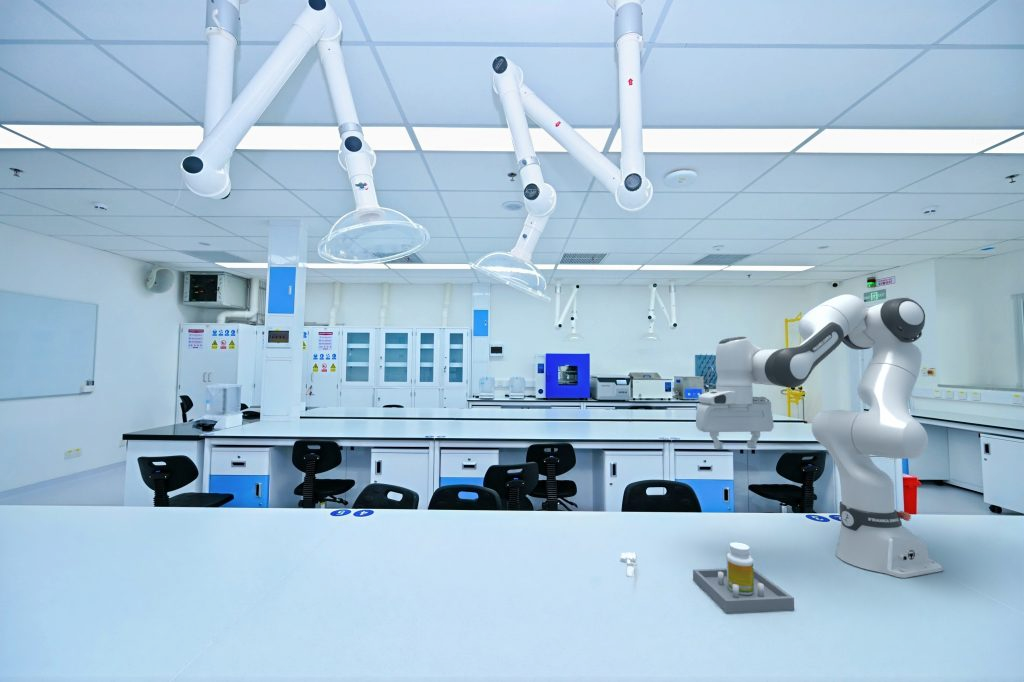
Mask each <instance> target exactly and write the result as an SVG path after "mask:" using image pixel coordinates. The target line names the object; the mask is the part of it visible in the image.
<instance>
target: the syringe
mask: <svg viewBox="0 0 1024 682" xmlns="http://www.w3.org/2000/svg"><path fill="white" fill-rule="evenodd" d="M619 558H620V559H619V562H621V561H623V562H622V563H626V562H627V563H626V566H627V567H626V577H628V576H629V578H635V577H636V575H634V571H635V570H636V569H635V567H634V566H637V563H636V562H637V561H636V560H637V558H636V553H635V552H630V551H628V552H627V551H626V552H621V553H620V557H619ZM635 581H638V580H637V578H636V579H635Z"/></svg>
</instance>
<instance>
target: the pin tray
mask: <svg viewBox="0 0 1024 682" xmlns="http://www.w3.org/2000/svg"><path fill="white" fill-rule="evenodd" d="M753 573H754V593H753V594H751V595H740V594H739V586H738V585H737V584H733V592H732V591H731V590H730V589H729V588H728V587H727V567H725V568H704V569H703V568H699V569H698V568H697V569H692V580H693V582H694V583H695V584H696V585H697V586H698V587H699V588H700V589H701V590H702V591H703V592H704V593H705V594H706V595H707V596H708V597H709V598H711V600H713V602H714V603H715V604H717V605H718V606H719V608H720V609H721V610H722V611H724V612H725V613H726V614H743V613H746V614H747V613H762V612H763V613H764V612H765V613H766V612H779V611H780V612H781V611H782V612H784V611H795V597H793V596H792V595H791V594H790V593H788V592H786V591H785V590H784V589H783V588H781V587H780V586H779V585H778V584H776V583H774V582H773V581H771V580H770V579H769V578H767V577H766V576H765V575H763V574H762V573H761V572H759V571H758V570H757V569H755V568H754V567H753Z"/></svg>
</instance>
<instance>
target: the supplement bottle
mask: <svg viewBox="0 0 1024 682" xmlns="http://www.w3.org/2000/svg"><path fill="white" fill-rule="evenodd" d="M729 551H730V552H727V554H726V568H727V587H728V588H729V589H730V590H731V591H732V592H733V584H737V585H738V586H739V594H740V595H751V594H753V593H754V573H753V568H754V559H753V558H752V556H751V555H750V546H749V545H748V544H745V543H742V542H729Z"/></svg>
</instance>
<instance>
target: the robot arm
mask: <svg viewBox="0 0 1024 682" xmlns="http://www.w3.org/2000/svg"><path fill="white" fill-rule="evenodd" d="M925 323H926V313H925V310H924V309H923V307H922V306H921V304H919V302H917V301H915V300H913V299H912V298H907V297H898V298H892V299H889V300H887V301H885V302H883V303H879V304H876V305H872V306H871V307H867V305H866V303H865V302H864V301H863V299H861V298H860V297H859V296H857V295H853V294H849V293H847V294H840V295H837V296H835V297H833V298H830V299H827V300H826V301H824V302H821V303H820V304H818V305H817V306H815V307H814V308H812V309H810V310H809V311H807V312H806V313H805V314H804V315H803V316H802V317H801V318H800V319H799V321H798V333H799V334H800V336H801V338H802V340H803V341H802V343H800V344H799V345H796V346H794V347H784V348H775V349H774V348H771V349H770V348H769V349H765V348H763V347H762V348H761V347H759V346H757V345H756V344H754V343H753V342H751V341H750V339H749V337H746V336H736V337H735V336H734V337H728V338H724V339H721V340H720V341H719V342H718V344H717V346H716V351H715V371H716V374H717V375H716V377H717V379H716V382H715V389H713V390H710V391H707V392H704V393H702V394H699V395H698V398H697V399H698V402H699V403H700V404H698V406H697V408H696V415H695V426H696V429H697V430H698V431H699V432H703V433H709V436H710V438H711V439H712V441H713V448H714V449H716V450H723V449H724V447H723V446H724V443H723V441H720V440H719V438H718V437H719V436H720V435H719V434H720V433H739V432H741V433H742V432H743V433H744V432H746V433H747V432H748V433H749V432H750V435H751V438H750V440H747V441H746V443H747V444H746V447H747V449H753V450H754V449H757V442H758V440H760V437H761V432H763V433H765V432H772V430H773V429H774V428H775V427H774V425H775V424H774V419H773V418H774V417H773V413H772V412H773V411H772V402H771V400H769V399H768V398H767V397H766V396H754V395H753V394H754V393H753V391H754V390H753V384H755V385H765V386H778V387H783V388H789V389H793V388H794V389H795V388H798V387H801V385H803V384H804V383H805V382H806V381H807V380H808V378H810V375H811V373H812V371H814V369H815V368H816V367H817V366H818V365H819V364H820V363H821V362H822V361H823V360H824V359H826V358H827V357H828V356H829V355H830V354H831V353H833V351H836V348H838V347H839V346H840V345H841V344H842V343H843V344H844V345H845V346H846V347H848V348H850V349H851V350H852V349H853V350H855V351H858V350H868V349H871V348H872V355H871V358H870V361H869V362H868V363H867V366H866V367H865V370H864V372H863V374H862V376H861V379H860V381H859V383H858V385H857V389H856V390H857V396H858V397H859V399H860V400H861V401H862V402H863V403H864V404H866V405H867V406H869V407H870V408H869V410H867V411H856V410H845V409H832V410H824V411H823V410H822V411H820V412H819V413H817V414H816V415H815V416H814V418H813V419H812V422H811V432H812V435H813V437H814V438H815V440H816V441H817V443H819V444H821V445H822V447H824V448H825V449H826V451H827V452H828V453H829V455H830V456H831V458H832V460H833V462H834V464H835V466H836V469H837V472H838V476H839V484H840V497H841V501H840V502H839V508H838V509H839V516H840V517H839V518H840V527H839V528H840V529H839V534H838V535H839V536H838V537H839V538H838V542H837V547H836V550H835V555H836V557H837V558H839V559H840V560H842V561H843V562H845V563H847V564H849V565H852V566H855V567H858V568H861V569H863V570H868V571H873V572H876V573H877V572H878V573H882V574H886V575H890V576H893V577H895V578H896V577H897V578H902V579H906V578H911V577H916V576H922V575H923V576H924V575H927V574H934V573H938V572H943V571H944V569H943V566H942V565H941V564H940V563H938V562H937V561H935V560H933V559H932V558H930V555H929V549H928V546H927V544H926V542H924V540H922V538H920V537H919V536H917V535H916V534H914V533H913V532H912V531H911V530H909V529H908V528H907V527H905V525H903V523H902V520H904V521H905V522H909V521H910V520H911V519H912V515H911V514H910V513H909V512H905V511H903V510H900V511H897V510H896V508H895V485H894V482H893V479H892V478H891V476H890V475H889V474H887V473H886V472H885V471H883V470H882V469H880V468H879V467H878V466H876V464H875V463H874V462H873V460H872V458H871V456H876V457H880V458H881V457H883V458H886V459H887V458H888V459H903V460H904V459H906V460H907V459H913V460H914V459H917V458H919V457H920V456H921V455H922V454H924V452H925V451H926V449H927V447H928V444H929V437H928V434H927V431H926V429H925V428H924V426H923V425H922V424H921V423H920V422H919V421H918V420H916V419H915V418H914V417H913V416H912V415H911V413H910V410H909V403H910V399H911V396H912V393H913V390H914V387H915V385H916V382H917V380H918V377H919V374H920V372H921V371H920V370H921V365H922V357H923V356H922V351H921V349H920V348H919V347H918V346H917V345H915V344H914V342H916V341H918V340H919V339H920V338H921V337H922V335H923V332H922V331H923V329H924V327H925Z"/></svg>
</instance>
